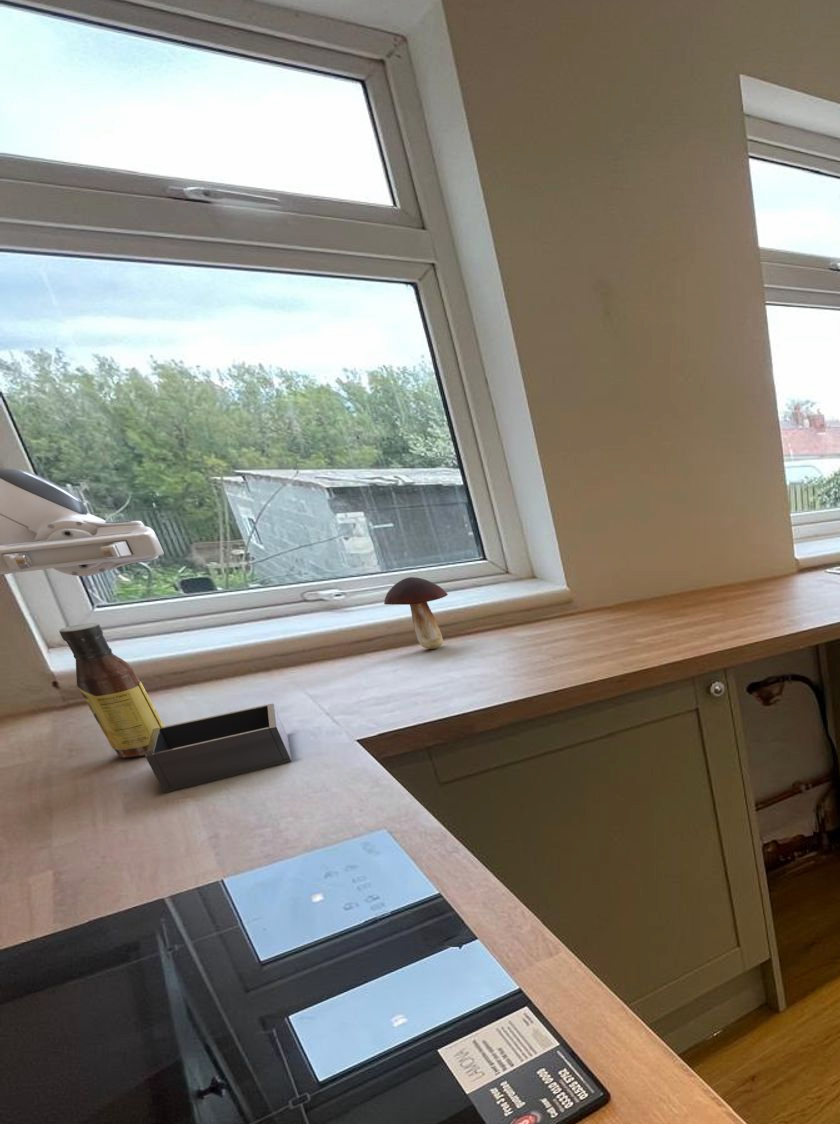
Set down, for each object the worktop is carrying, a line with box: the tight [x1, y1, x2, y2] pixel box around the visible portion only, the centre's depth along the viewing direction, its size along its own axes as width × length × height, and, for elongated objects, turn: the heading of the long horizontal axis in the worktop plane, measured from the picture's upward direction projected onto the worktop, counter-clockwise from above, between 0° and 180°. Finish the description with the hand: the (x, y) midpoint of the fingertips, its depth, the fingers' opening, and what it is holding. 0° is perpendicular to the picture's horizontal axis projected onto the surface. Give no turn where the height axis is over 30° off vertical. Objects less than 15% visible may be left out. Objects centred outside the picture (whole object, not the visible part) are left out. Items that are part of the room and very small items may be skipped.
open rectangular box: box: [144, 703, 292, 794], centre depth 117 cm, size 14×14×6 cm
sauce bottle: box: [59, 622, 165, 759], centre depth 119 cm, size 7×6×20 cm
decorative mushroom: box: [383, 576, 449, 650], centre depth 166 cm, size 11×11×15 cm
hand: (65, 557), depth 121 cm, fingers open, 8 cm apart
